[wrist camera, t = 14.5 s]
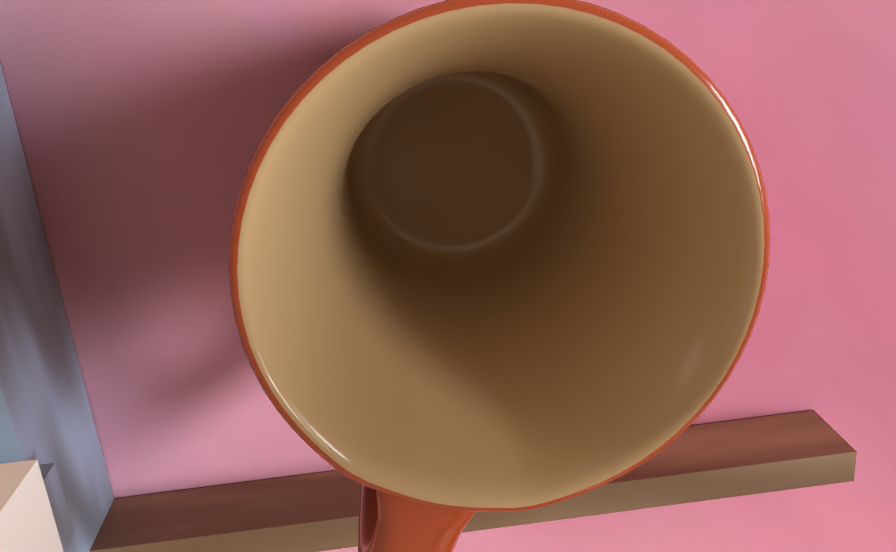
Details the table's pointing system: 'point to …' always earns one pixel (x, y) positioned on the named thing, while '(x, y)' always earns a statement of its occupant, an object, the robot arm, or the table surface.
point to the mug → (497, 259)
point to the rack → (310, 495)
